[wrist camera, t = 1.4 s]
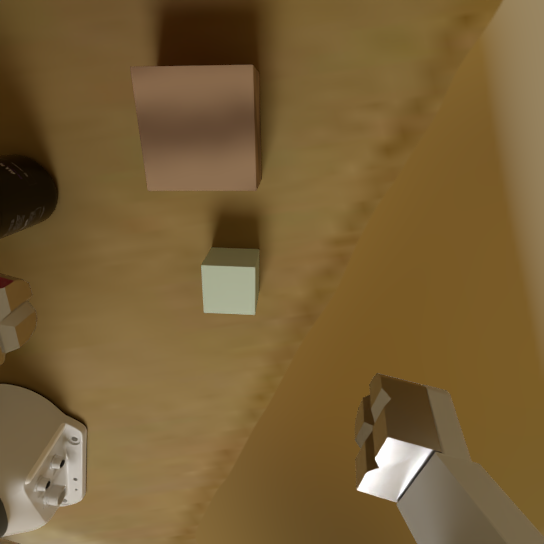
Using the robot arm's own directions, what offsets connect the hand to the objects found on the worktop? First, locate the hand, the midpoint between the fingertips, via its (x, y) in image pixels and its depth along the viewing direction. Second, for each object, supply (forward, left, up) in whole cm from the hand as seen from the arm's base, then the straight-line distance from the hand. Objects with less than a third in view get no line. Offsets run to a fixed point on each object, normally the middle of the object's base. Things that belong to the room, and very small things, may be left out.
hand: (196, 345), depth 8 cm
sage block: (-10, +3, -29) cm, 31 cm away
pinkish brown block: (+4, +5, -29) cm, 30 cm away
